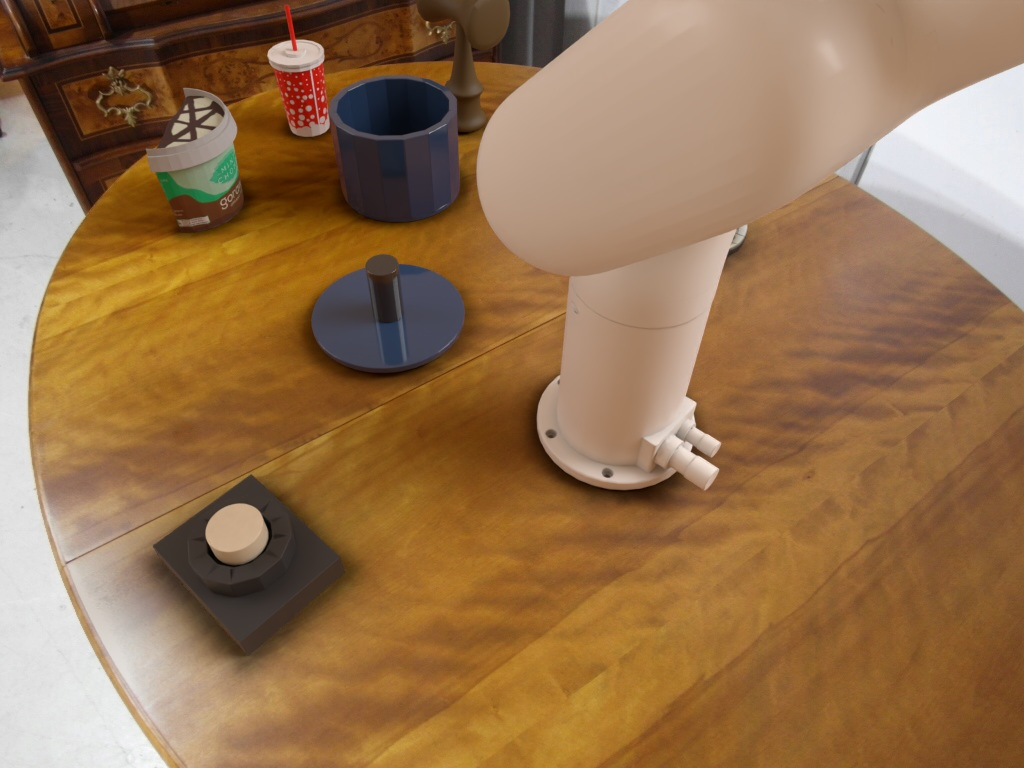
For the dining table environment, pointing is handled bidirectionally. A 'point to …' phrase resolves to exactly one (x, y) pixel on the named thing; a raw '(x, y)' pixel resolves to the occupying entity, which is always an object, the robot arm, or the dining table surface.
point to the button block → (252, 568)
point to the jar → (396, 147)
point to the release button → (237, 534)
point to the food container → (199, 163)
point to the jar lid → (388, 317)
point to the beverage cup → (301, 83)
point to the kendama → (469, 48)
